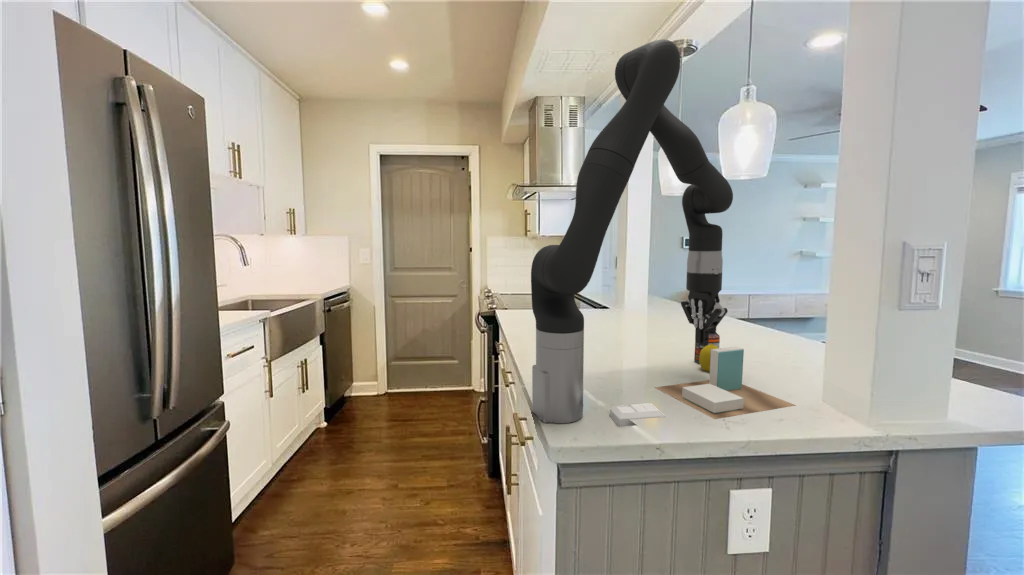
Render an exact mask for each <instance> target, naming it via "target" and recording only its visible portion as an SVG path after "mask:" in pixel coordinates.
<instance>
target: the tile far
mask: <svg viewBox="0 0 1024 575" xmlns="http://www.w3.org/2000/svg"><path fill="white" fill-rule="evenodd" d="M744 352H745V350H744V348H742V347H739V346H731V347H721V348H720V347H719V349H711V358H710V372H709V379H708V380H709V384H712V385H714V386H716V387H719V388H721V389H723V390H726V391H729V390H736V389H741V388H742V384H743V373H744V372H743V370H744V356H745V355H744Z"/></svg>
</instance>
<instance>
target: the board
mask: <svg viewBox="0 0 1024 575" xmlns="http://www.w3.org/2000/svg"><path fill="white" fill-rule="evenodd" d="M709 380H710V379H707V380H700V381H694V382H685V383H684V382H683V383H679V384H676V383H675V384H671V385H662V386H661V385H660V386H655V387H654V388H655V389H656V390H658V391H660V392H662V393H664V394H665V395H668V396H670V397H671V398H674V399H675V400H677V401H679V402H682V403H683V404H685V405H687V406H689V407H691V408H692V409H695V410H696V411H699V412H700V413H702V414H704V415H706V416H708V417H710V418H712V419H714V420H719V419H724V418H731V417H735V416H742V415H748V414H753V413H760V412H764V411H765V412H766V411H770V410H777V409H783V408H790V407H796V404H794V403H791V402H788V401H786V400H784V399H781V398H779V397H776V396H773V395H771V394H768V393H766V392H763V391H761V390H758V389H755V388H752V387H750V386H748V385H745V384H743V383H742V388H741V389H736V390H729V391H728V392H730V393H733V394H735V395H737V396H740V397H742V398H744V404H743V408H742V409H740V410H733V411H727V412H721V413H715V414H714V413H712V412H710V411H708V410H706V409H704V408H702V407H700V406H698V405H696V404H694V403H692V402H690V401H688V400H686V399H684V398H683V397H682V387H689V386H696V385H703V384H709Z"/></svg>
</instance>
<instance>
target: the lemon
mask: <svg viewBox="0 0 1024 575" xmlns="http://www.w3.org/2000/svg"><path fill="white" fill-rule="evenodd" d="M719 348H720V347H719ZM719 348H718V347H717V346H715V345H714V344H710V345H707V346H705V347H704V348H703V349H702V350H701V352H700V356H699V362H700V364H699V365H700V368H701V369H702V370H703V371H704V372H707V373H710V358H711V349H719Z"/></svg>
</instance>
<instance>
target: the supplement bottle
mask: <svg viewBox="0 0 1024 575" xmlns="http://www.w3.org/2000/svg"><path fill="white" fill-rule="evenodd" d="M720 339H721V336H720V334H719V333H718V332H717V327H713V328H710V329H709V341H708V343H707V344H705V345H700V344H697V343H696V340H695V339H694V340H695V341H694V356H693V357H694V358H693V362H694V363H695V364H696V365H697V364H698V365H700V362H699V356H700V352H701V350H702V349H703V348H704V347H705V346H707V345H710V344H714V345H715V346H717V347H718V348H720Z"/></svg>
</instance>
